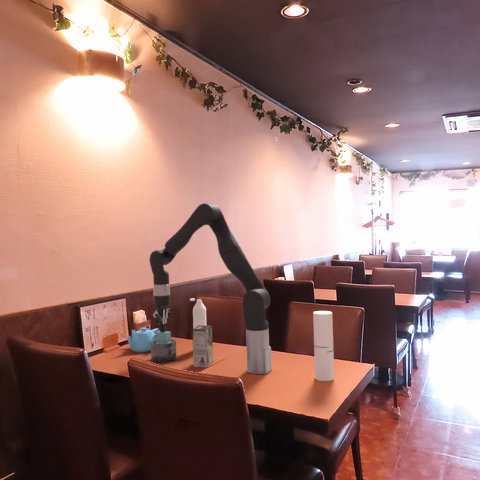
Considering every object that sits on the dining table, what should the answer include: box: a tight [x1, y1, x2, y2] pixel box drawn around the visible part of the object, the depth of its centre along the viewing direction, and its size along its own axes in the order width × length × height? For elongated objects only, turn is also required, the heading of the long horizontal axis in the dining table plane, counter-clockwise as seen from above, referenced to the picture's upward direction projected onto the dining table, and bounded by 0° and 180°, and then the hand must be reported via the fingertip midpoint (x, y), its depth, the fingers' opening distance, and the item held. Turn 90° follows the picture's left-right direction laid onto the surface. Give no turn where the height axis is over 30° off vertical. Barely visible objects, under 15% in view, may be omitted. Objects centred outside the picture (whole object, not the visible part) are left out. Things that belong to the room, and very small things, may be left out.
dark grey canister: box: [150, 338, 177, 364], centre depth 192 cm, size 11×11×8 cm
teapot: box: [126, 326, 160, 353], centre depth 211 cm, size 15×15×11 cm
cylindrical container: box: [312, 310, 335, 382], centre depth 161 cm, size 7×7×25 cm
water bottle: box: [189, 297, 208, 330], centre depth 206 cm, size 9×6×25 cm
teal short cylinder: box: [156, 330, 172, 344], centre depth 192 cm, size 7×7×6 cm
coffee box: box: [191, 324, 214, 368], centre depth 183 cm, size 9×6×16 cm
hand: (162, 331), depth 192 cm, fingers closed
